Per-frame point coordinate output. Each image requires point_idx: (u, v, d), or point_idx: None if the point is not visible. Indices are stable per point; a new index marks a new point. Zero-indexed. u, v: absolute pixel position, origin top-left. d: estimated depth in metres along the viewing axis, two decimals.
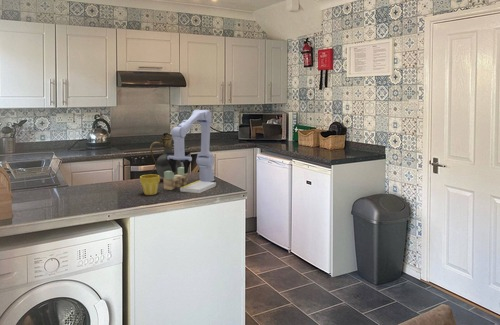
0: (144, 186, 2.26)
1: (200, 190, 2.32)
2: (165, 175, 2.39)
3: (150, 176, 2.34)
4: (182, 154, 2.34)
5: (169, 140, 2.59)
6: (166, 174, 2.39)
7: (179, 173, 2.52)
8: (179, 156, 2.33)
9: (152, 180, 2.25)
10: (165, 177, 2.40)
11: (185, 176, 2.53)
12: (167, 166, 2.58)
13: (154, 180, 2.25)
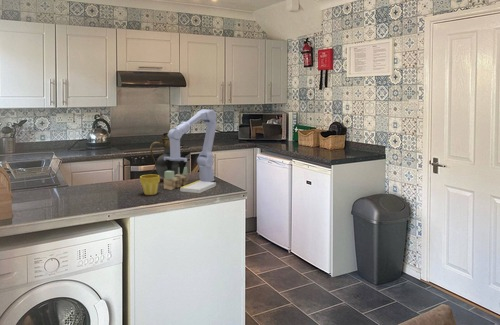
0: (144, 186, 2.26)
1: (200, 190, 2.32)
2: (165, 175, 2.39)
3: (150, 176, 2.34)
4: (178, 155, 2.44)
5: (169, 140, 2.59)
6: (166, 174, 2.39)
7: (179, 173, 2.52)
8: (175, 157, 2.43)
9: (152, 180, 2.25)
10: (165, 177, 2.40)
11: (185, 176, 2.53)
12: None
13: (154, 180, 2.25)
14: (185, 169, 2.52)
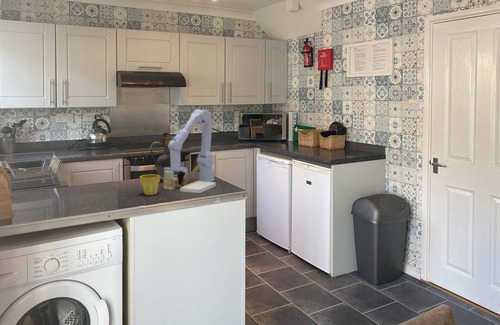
0: (144, 186, 2.26)
1: (200, 190, 2.32)
2: (165, 175, 2.39)
3: (150, 176, 2.34)
4: (178, 166, 2.45)
5: (169, 140, 2.59)
6: (166, 174, 2.39)
7: None
8: (175, 168, 2.44)
9: (152, 180, 2.25)
10: (165, 177, 2.40)
11: (185, 176, 2.53)
12: (167, 166, 2.58)
13: (154, 180, 2.25)
14: None
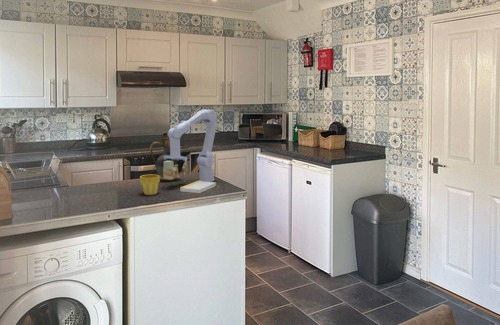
0: (144, 186, 2.26)
1: (200, 190, 2.32)
2: (165, 165, 2.38)
3: (150, 176, 2.34)
4: (178, 154, 2.43)
5: (169, 140, 2.59)
6: (165, 163, 2.38)
7: None
8: (175, 156, 2.43)
9: (152, 180, 2.25)
10: (165, 167, 2.39)
11: (185, 166, 2.52)
12: None
13: (154, 180, 2.25)
14: None
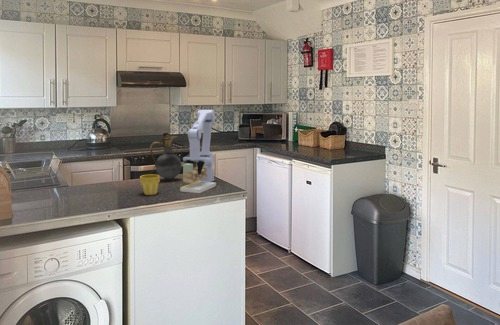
0: (144, 186, 2.26)
1: (200, 190, 2.32)
2: (184, 168, 2.34)
3: (150, 176, 2.34)
4: (197, 155, 2.38)
5: (169, 140, 2.59)
6: (185, 166, 2.34)
7: None
8: (195, 157, 2.38)
9: (152, 180, 2.25)
10: (184, 170, 2.34)
11: (204, 169, 2.47)
12: (167, 166, 2.58)
13: (154, 180, 2.25)
14: None
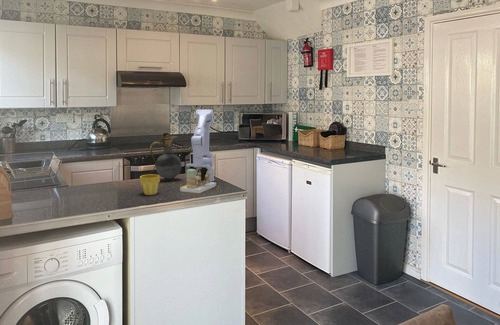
0: (144, 186, 2.26)
1: (200, 190, 2.32)
2: (188, 173, 2.34)
3: (150, 176, 2.34)
4: (201, 162, 2.38)
5: (169, 140, 2.59)
6: (188, 172, 2.33)
7: None
8: (198, 164, 2.38)
9: (152, 180, 2.25)
10: (187, 175, 2.34)
11: (207, 175, 2.47)
12: (167, 166, 2.58)
13: (154, 180, 2.25)
14: None
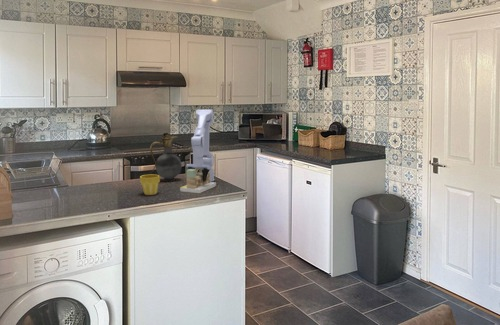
0: (144, 186, 2.26)
1: (200, 190, 2.32)
2: (188, 173, 2.34)
3: (150, 176, 2.34)
4: (201, 163, 2.38)
5: (169, 140, 2.59)
6: (188, 172, 2.33)
7: (201, 171, 2.46)
8: (198, 165, 2.38)
9: (152, 180, 2.25)
10: (188, 175, 2.34)
11: (207, 175, 2.47)
12: (167, 166, 2.58)
13: (154, 180, 2.25)
14: None
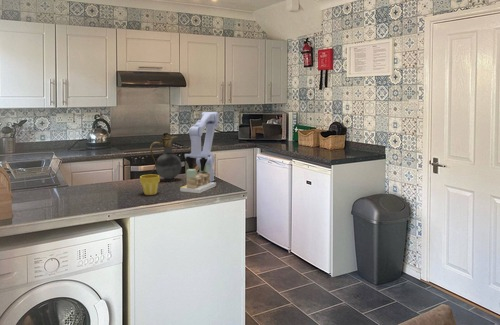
0: (144, 186, 2.26)
1: (200, 190, 2.32)
2: (188, 173, 2.34)
3: (150, 176, 2.34)
4: (199, 152, 2.44)
5: (169, 140, 2.59)
6: (188, 172, 2.33)
7: None
8: (196, 154, 2.43)
9: (152, 180, 2.25)
10: (187, 175, 2.34)
11: (207, 175, 2.47)
12: (167, 166, 2.58)
13: (154, 180, 2.25)
14: (207, 166, 2.48)
